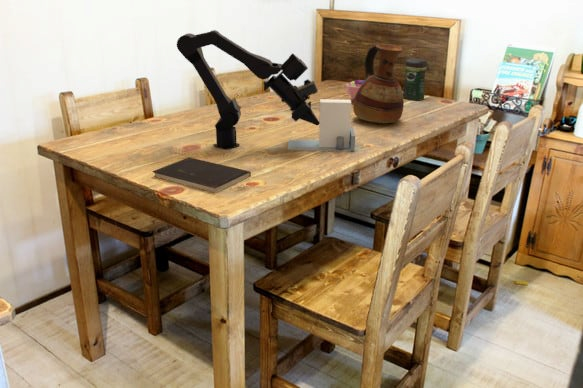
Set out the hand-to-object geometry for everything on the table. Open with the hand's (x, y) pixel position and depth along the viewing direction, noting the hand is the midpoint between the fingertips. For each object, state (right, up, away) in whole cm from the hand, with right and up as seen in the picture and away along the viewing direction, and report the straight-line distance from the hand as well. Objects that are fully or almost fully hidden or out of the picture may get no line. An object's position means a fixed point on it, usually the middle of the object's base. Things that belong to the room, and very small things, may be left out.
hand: (318, 124), depth 182 cm
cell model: (+25, +19, +71) cm, 77 cm away
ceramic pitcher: (+25, +6, +38) cm, 46 cm away
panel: (+5, -7, +3) cm, 9 cm away
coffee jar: (+48, +22, +78) cm, 94 cm away
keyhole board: (+1, -8, +3) cm, 8 cm away
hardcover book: (-35, -19, -23) cm, 46 cm away
